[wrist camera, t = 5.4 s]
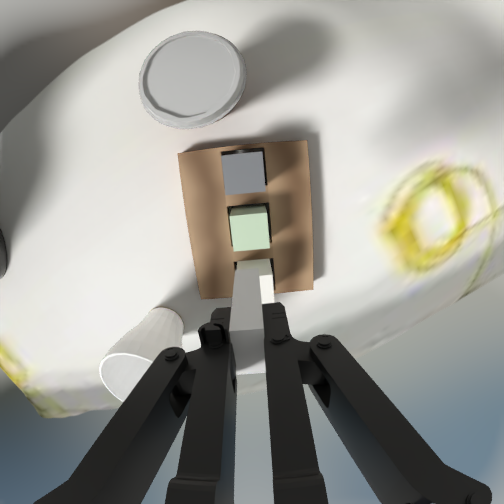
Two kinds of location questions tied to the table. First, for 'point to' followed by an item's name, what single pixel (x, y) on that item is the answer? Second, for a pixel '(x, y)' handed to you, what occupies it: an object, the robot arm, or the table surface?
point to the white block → (261, 277)
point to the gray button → (243, 173)
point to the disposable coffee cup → (192, 79)
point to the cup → (140, 350)
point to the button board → (277, 195)
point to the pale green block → (249, 227)
